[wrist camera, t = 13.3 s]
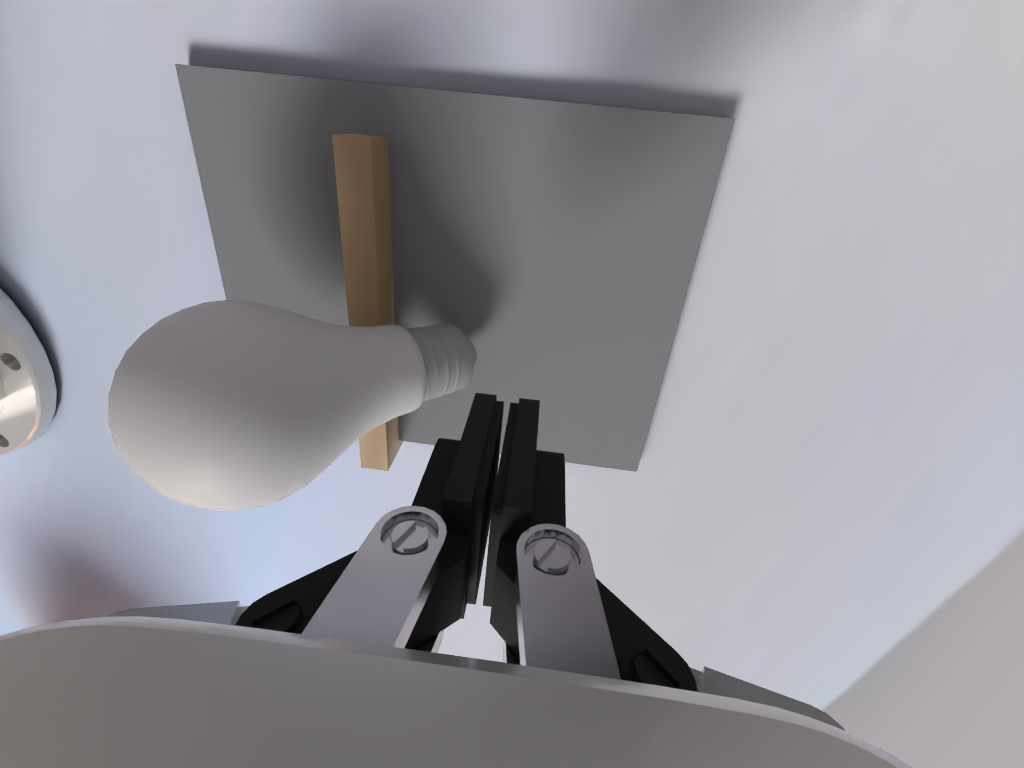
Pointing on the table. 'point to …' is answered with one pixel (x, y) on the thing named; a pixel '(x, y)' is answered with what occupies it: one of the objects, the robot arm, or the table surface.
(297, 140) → the mat
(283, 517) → the table surface
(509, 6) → the table surface
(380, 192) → the rail
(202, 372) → the lightbulb
